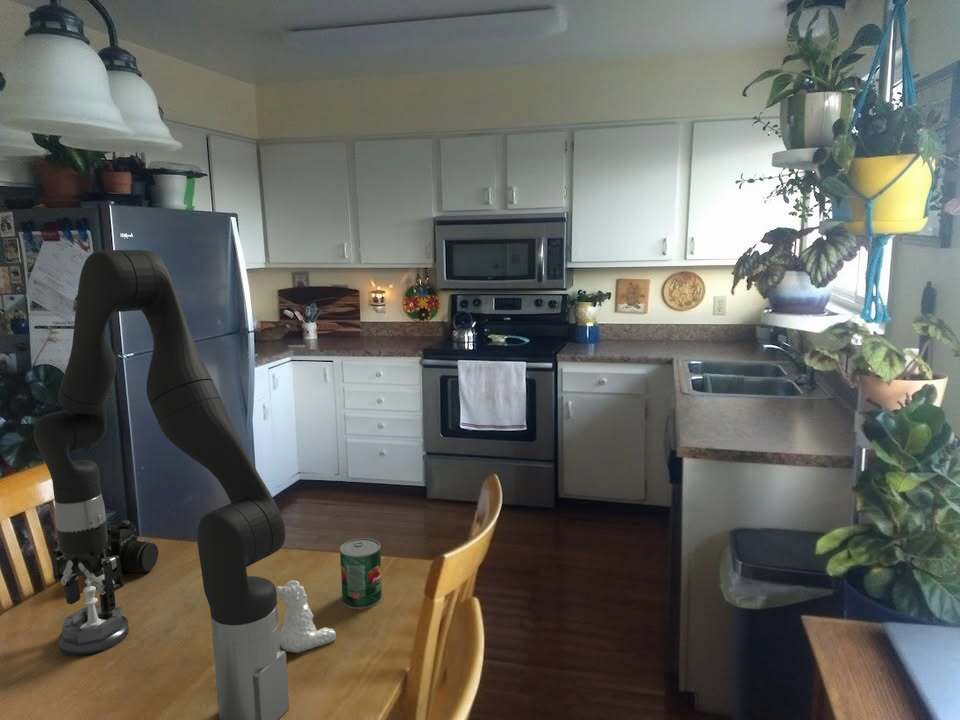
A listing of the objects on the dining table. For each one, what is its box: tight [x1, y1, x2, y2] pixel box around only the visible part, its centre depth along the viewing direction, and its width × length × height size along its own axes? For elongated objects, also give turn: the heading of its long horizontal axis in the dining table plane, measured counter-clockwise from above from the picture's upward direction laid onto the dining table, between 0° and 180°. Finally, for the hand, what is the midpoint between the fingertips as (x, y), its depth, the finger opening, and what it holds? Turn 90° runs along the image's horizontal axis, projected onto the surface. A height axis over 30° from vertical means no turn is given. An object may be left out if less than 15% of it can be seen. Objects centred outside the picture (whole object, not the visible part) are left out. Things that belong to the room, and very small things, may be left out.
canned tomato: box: [339, 537, 383, 610], centre depth 134 cm, size 8×8×11 cm
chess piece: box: [80, 578, 107, 629], centre depth 121 cm, size 5×5×10 cm
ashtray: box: [57, 603, 130, 657], centre depth 122 cm, size 11×11×4 cm
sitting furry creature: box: [276, 579, 337, 654], centre depth 119 cm, size 10×9×12 cm
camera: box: [91, 519, 159, 589], centre depth 145 cm, size 14×11×10 cm
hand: (91, 606), depth 121 cm, fingers open, 8 cm apart
